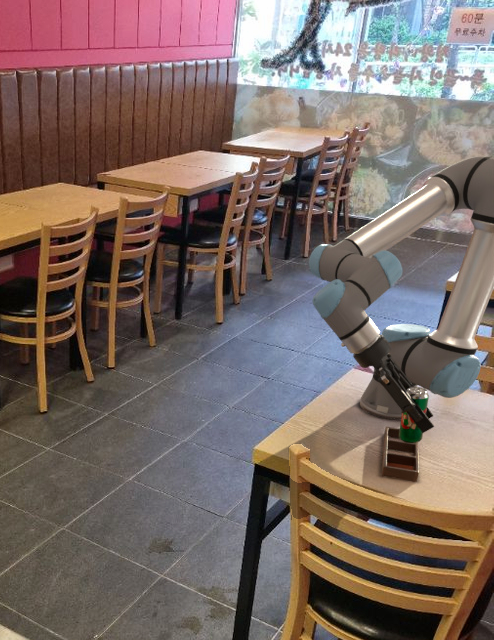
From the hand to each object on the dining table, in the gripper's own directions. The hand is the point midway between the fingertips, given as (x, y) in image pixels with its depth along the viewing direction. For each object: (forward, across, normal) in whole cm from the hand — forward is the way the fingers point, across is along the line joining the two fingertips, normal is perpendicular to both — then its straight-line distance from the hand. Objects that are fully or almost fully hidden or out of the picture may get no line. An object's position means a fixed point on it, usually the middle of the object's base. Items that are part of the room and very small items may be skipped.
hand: (428, 423), depth 166 cm
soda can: (+1, 0, -5) cm, 6 cm away
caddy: (+7, -7, -12) cm, 15 cm away
